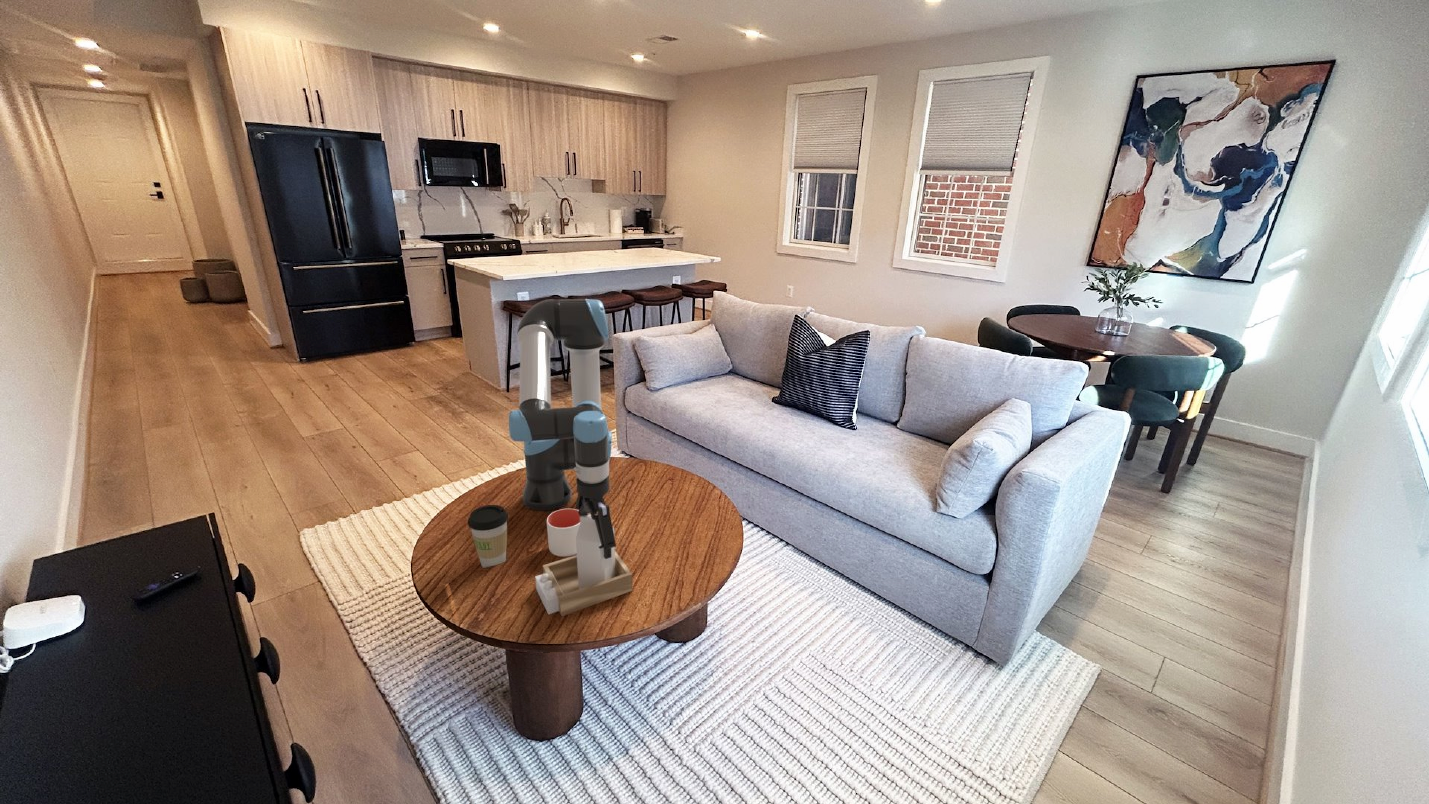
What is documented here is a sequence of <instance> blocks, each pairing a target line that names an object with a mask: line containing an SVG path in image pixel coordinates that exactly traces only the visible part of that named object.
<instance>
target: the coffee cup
mask: <svg viewBox="0 0 1429 804" xmlns="http://www.w3.org/2000/svg"><path fill="white" fill-rule="evenodd" d="M508 520H509V514H508V511H506V509H505V508H504V507H503V506H501V505H497V504H486V505H483V506H479V507H477V508H475V509H474V510H472V511H471V513H470V514H469V517H468V520H467V525H468V527H469V528H470V530H471V537H472V539H473V543H474V546H475V550H476V553H477V556H478V558H479V559H478V560H479V562H480V566H481V567H482V568H484V569H486V568H490V567H493V566H498V565H500V564H503V563H506V560H507V558H506V557H507V547H508V546H507V543H508V540H507V539H508V525H507V524H508V522H507V521H508Z"/></svg>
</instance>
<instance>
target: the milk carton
mask: <svg viewBox="0 0 1429 804" xmlns="http://www.w3.org/2000/svg"><path fill="white" fill-rule="evenodd" d="M612 528H613V533H614V538H615V539H616V537H615V534H616V533H615V526H613V525H612ZM600 545H601V542H600V538H599V534H598V531H597V527H596V523H595V520H593V519H592V517H591V518H589V517H582V516H581V522H580V526H579V529H578V533H577V536H576V551H577V554H576V555H577V567H578V584H579V589H582V588H585V587H588V586H591V585H594V584H596V583H599V582H602V581H605V580H608V579H611V578H614V577H615V576H616V566H615V551H616V547H613V548H612V566H611V567H608V568H605V569H601V566H600V549H599V546H600Z"/></svg>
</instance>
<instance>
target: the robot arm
mask: <svg viewBox="0 0 1429 804" xmlns="http://www.w3.org/2000/svg"><path fill="white" fill-rule="evenodd" d="M606 316H607V315H606V311H605V307H604V303H603V302H602V301H601V300H600V299H588V298H572V299H571V298H569V299H566V298H564V299H551V298H550V299H544V300H541V301H539V302H537V303H536V304H534V305H533V306H532V307H530V308H529V309H528V310H527V311H526V312H525V313H524V315H523V316H522V317H521V320H520V321H519V324H518V326H517V331H516V332H517V335H516V339H517V343H518V344H519V346H520V359H519V360H520V361H519V362H520V363H519V392H518V393H519V395H518V399H519V400H518V409H516V410H515V409H514V410H511V411H509V414H508V432H509V436H510V439H511V441H514V442H523V455H524V461H525V463H524V464H525V473H526V475H525V476H526V481H525V485H524V488H523V492H522V503H523V505H524V506H525V507H526V508H527V509H530V510H533V511H538V512H539V511H540V512H541V511H542V512H543V511H547V512H548V511H552V510H553V511H554V510H557V509H559V508H560V509H561V508H562V507H564V506H566V505H567V504H568V503H569V502H570V501H571V499H572V488H571V486H570V483H569V481H568V479H567V477H566V475H565V471H571V470H573V471H574V472H575V475H576V493H577V499H576V504H575V509H576V510H579V512H578V513H579V515H581V516H582V517H589V518H592V519H593V520H595V523H596V527H597V531H598V534H599V538H600V542H601V545H600V546H599V549H600V566H601V569H605V568H608V567H611V566H612V548H613V547H615V548H616V547H617V543H616V537H615V538H614V534H615V532H614V533H613V528H612V526H613V522H612V518H611V511H610V505H608V504H606V501H605V498H604V496H606V494H608V492H609V491H610V476H609V475H610V460H611V456H612V444H613V441H612V440H613V438H612V437H613V436H612V432H611V430H609V427H608V420H607V419H608V418H607V416H606V414H604V412H603V409H602V400H601V399H602V398H601V397H602V396H601V395H602V393H601V369H600V368H601V366H600V350H601V349H602V348H603V347H604V346H605V341H606V340H608V339H610V338H609V337H610V335H609V328H608V323H607V317H606ZM554 341H563V347H564V348H565V349H566V350H568V351H569V362H570V363H569V364H570V366H569V368H570V381H571V398H572V399H571V400H572V407H571V406H570V407H555V408H553V407H552V396H551V395H552V390H551V389H552V387H551V385H552V384H551V346H552V345H553V343H554ZM581 516H580V522H581Z"/></svg>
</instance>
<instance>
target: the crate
mask: <svg viewBox="0 0 1429 804" xmlns="http://www.w3.org/2000/svg"><path fill="white" fill-rule="evenodd" d="M615 566H616V576H615V577H614V578H611V579H608V580H605V581H602V582H599V583H596V584H594V585H591V586H588V587H585V588H582V589H579V584H578V567H577V554H575V555H572V556H567V557H564V558H563V559H560V560H559V559H558V560H556V561H553V562H549V563H546V564H543V565H542V571H543V573H542V574H545V573H547V574H548V577H549V580H551V581H552V585H553V588H556V593H557V596H558V604H559V611H558V612H559V614H560V615H561V617H563V616H566V615H569V614H572V613H575V612H578V611H580V610H583V609H585V608H589V607H591V606H594V605H597V604H600V603H602V602H605V601H608V600H610V599H614V598H617V597H618V596H621V595H624V594H627V593H630V592H632V591H633V588H634V587H633V573H632V571H631V570H630V568H628V566H627V565H626V563H625V562H624V561H623V560H622V558H621V557H620V555H619V554H618V553H617V552H616V550H615ZM551 571H552V573H553V575H554V577H555V579H556V580H555V579H554V577H553V575H552V573H551ZM556 581H557V582H556ZM557 583H558V584H559V586H560V588H561V590H562V592H563V593H562V592H561V590H560V588H559V586H558V584H557ZM563 594H564V595H563Z"/></svg>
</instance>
